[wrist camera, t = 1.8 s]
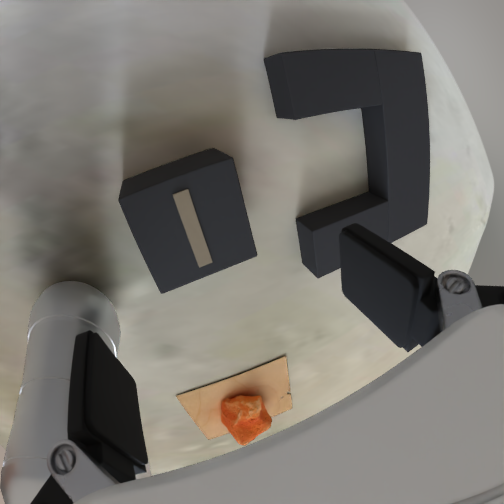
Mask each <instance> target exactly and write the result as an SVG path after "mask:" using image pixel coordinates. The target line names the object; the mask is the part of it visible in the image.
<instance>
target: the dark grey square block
mask: <svg viewBox="0 0 504 504" xmlns="http://www.w3.org/2000/svg"><path fill="white" fill-rule="evenodd" d="M119 203H120V205H121V207H122V210H123V212H124V215H125V217H126V219H127V222H128V224H129V226H130V229H131V231H132V233H133V236H134V238H135V240H136V242H137V245H138V247H139V249H140V251H141V253H142V255H143V258H144V260H145V262H146V264H147V266H148V268H149V270H150V272H151V274H152V276H153V278H154V280H155V282H156V285H157V287H158V288H159V290H160V292H161V294H163V293H165V292H168V291H170V290H173V289H175V288H178V287H181V286H183V285H186V284H188V283H191V282H193V281H196V280H198V279H201V278H203V277H206V276H208V275H211V274H213V273H216V272H218V271H221V270H223V269H226V268H228V267H231V266H233V265H236V264H238V263H241V262H243V261H246V260H248V259H251V258H253V257H256V256H257V252H256V248H255V244H254V240H253V236H252V232H251V228H250V224H249V220H248V216H247V212H246V208H245V204H244V200H243V196H242V192H241V188H240V184H239V180H238V176H237V172H236V168H235V164H234V160H233V158H232V157H231V156H229V155H227V154H225V153H223V152H221V151H219V150H217V149H215V148H212V149H209V150H206V151H202V152H199V153H196V154H193V155H190V156H188V157H185V158H182V159H179V160H176V161H173V162H171V163H168V164H165V165H162V166H160V167H157V168H154V169H152V170H149V171H147V172H144V173H141V174H139V175H136V176H134V177H131V178H129V179H127V180H124V181H123V183H122V187H121V191H120V195H119Z"/></svg>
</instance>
